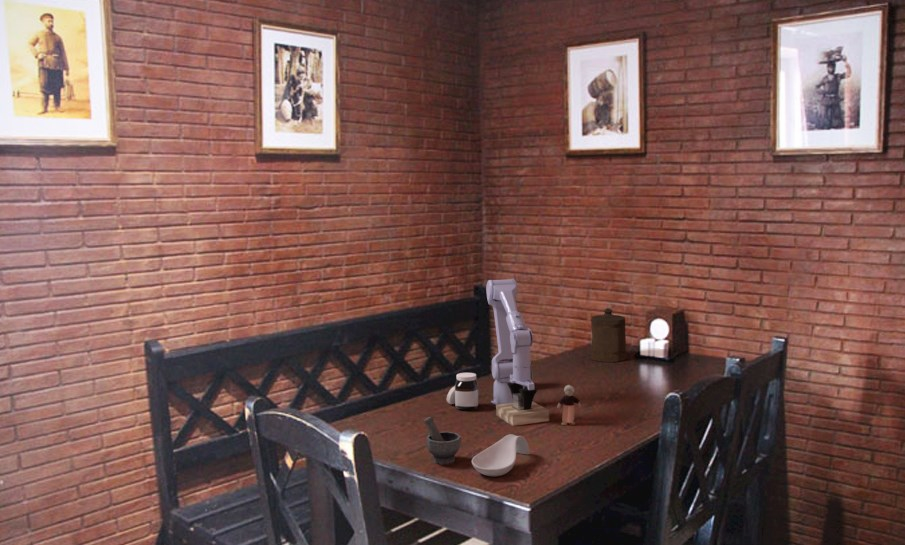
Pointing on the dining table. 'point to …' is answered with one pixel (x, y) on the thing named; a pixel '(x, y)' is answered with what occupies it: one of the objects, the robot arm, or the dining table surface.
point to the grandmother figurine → (568, 405)
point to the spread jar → (464, 392)
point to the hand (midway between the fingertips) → (522, 406)
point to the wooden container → (608, 337)
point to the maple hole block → (522, 414)
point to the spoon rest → (500, 455)
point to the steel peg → (517, 402)
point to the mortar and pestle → (441, 443)
